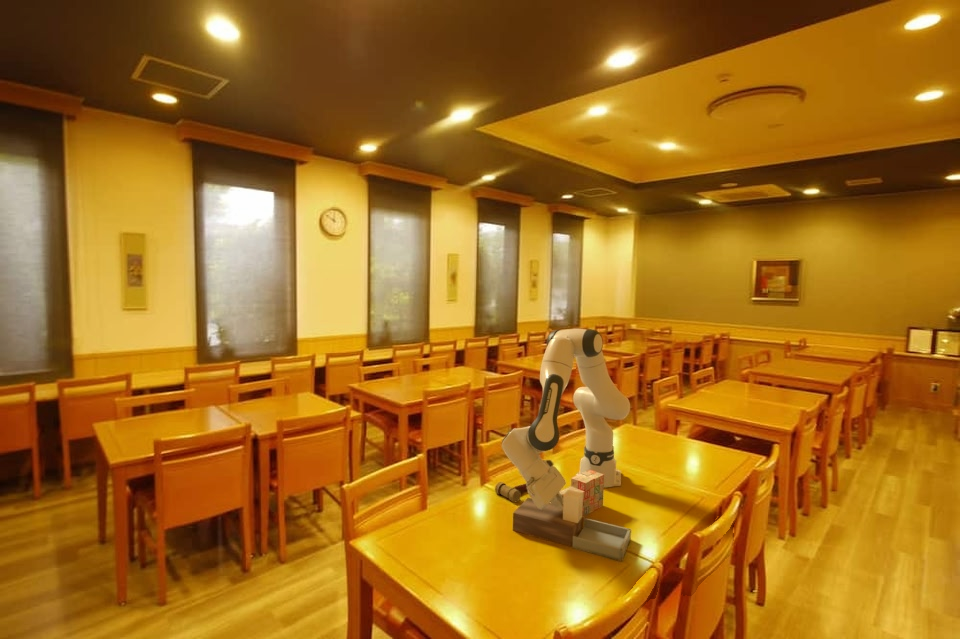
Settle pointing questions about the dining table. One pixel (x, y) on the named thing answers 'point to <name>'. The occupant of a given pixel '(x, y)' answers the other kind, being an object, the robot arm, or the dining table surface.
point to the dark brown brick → (545, 523)
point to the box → (603, 539)
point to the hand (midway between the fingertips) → (563, 508)
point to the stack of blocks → (588, 490)
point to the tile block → (572, 506)
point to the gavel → (510, 491)
